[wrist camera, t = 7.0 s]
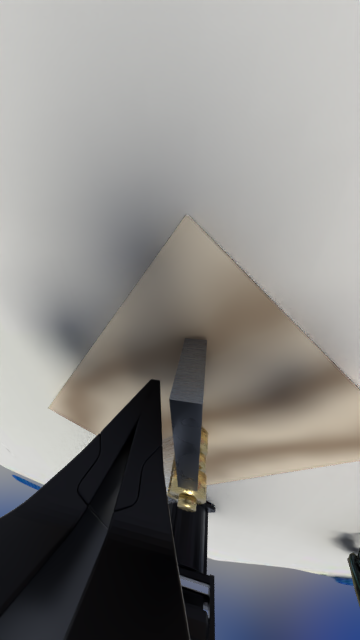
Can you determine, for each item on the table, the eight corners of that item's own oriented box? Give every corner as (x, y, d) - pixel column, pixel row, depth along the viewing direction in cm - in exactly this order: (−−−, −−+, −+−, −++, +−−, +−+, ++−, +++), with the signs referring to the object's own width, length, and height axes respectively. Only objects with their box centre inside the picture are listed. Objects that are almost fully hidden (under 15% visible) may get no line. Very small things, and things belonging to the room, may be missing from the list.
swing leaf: (206, 444, 14) (203, 506, 11) (181, 439, 15) (172, 498, 12) (216, 340, 9) (218, 406, 6) (176, 337, 9) (155, 397, 6)
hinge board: (403, 434, 11) (418, 451, 11) (191, 477, 22) (190, 488, 21) (189, 215, 7) (185, 215, 6) (55, 399, 18) (47, 408, 17)
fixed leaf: (193, 420, 13) (184, 499, 10) (214, 434, 14) (213, 514, 10) (126, 450, 19) (104, 508, 15) (143, 460, 19) (125, 518, 16)
